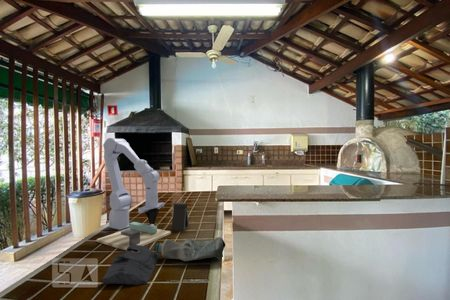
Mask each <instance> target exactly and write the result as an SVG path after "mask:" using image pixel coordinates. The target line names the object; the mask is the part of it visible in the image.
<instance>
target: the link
mask: <svg viewBox="0 0 450 300" xmlns="http://www.w3.org/2000/svg"><path fill="white" fill-rule="evenodd" d="M128 228H129V229H133V230H137V231H142V232H146V233H148V234H154V233H156V232H157V229H158V226H157V225H154V224H149V223H148V224H147V223H141V222H137V221H132V222H129V227H128Z"/></svg>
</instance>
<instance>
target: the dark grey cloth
mask: <svg viewBox="0 0 450 300" xmlns="http://www.w3.org/2000/svg"><path fill="white" fill-rule="evenodd" d="M160 257H161V255H160V253H157V251H152V250H151V249H149V247H148V246H147V245H144V246H140V245H135V244H130V245H129V247H128V248H127V251H126V250H124V252H123V253H122V254H117V255H116V256H115V257H114V258H113V260H112V262H111V265H109V267H108V268H107V270H106V273H105V274H104V276H103V277H102V279H101V280H102V283H103V284H106V285H108V284H109V285H110V284H113V285H114V284H117V285H121V284H124V285H134V286H135V285H136V286H139V285H143V284H148V283H149V281H150V279H151V276H152V275H153V272H154V270H155V268H156V266H157V263H158V262H159V261H158V260H159V258H160Z"/></svg>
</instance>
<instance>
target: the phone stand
mask: <svg viewBox="0 0 450 300" xmlns="http://www.w3.org/2000/svg"><path fill="white" fill-rule="evenodd" d="M172 207H173V211H172V212H173V213H172V221H171V231H179V232H180V231H185V230H186V229H187V228H188V227H189V226H190V224H189V221H190V220H189V214H188V203H187V202H174V203H173V206H172Z"/></svg>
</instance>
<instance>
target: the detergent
mask: <svg viewBox="0 0 450 300" xmlns="http://www.w3.org/2000/svg"><path fill="white" fill-rule="evenodd" d="M225 248H226V242H225V241H224V238H223V237H220V236H217V237H216V238H214V239H211V240H204V241H200V240H194V239H189V238H188V239H185V240H184V241H183V242H178V241H175V240H171V239H169V238H166V239H164V241H163V243H162V242H158V243H155V244H154V246H153V252H156V253H159V254H160V253H161V257H162V258H164V259H171V260H173V259H175V260H181V261H183V262H189V261H190V262H191V261H196V260H203V259H209V258H217V259H218V260H221V259H222V257H223V252H224V249H225Z"/></svg>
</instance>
